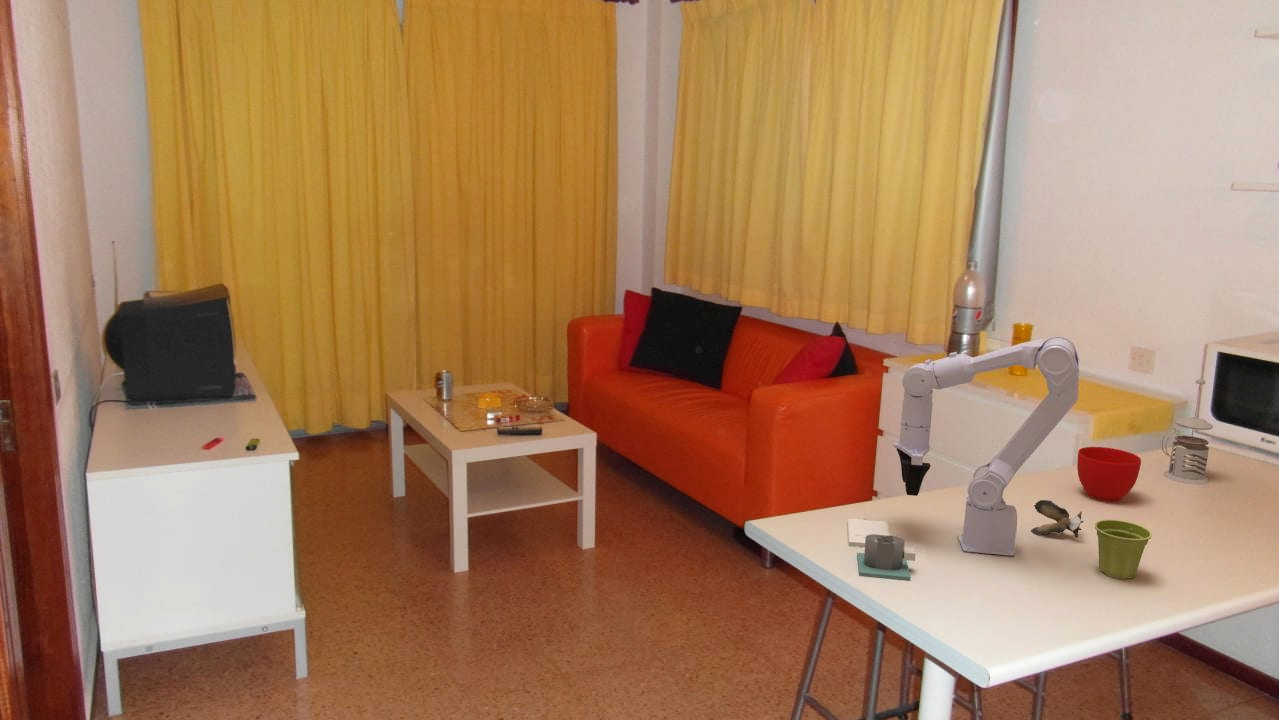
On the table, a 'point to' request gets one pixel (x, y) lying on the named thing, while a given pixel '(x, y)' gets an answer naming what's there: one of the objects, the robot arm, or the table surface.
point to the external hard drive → (864, 530)
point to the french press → (1189, 451)
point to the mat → (882, 570)
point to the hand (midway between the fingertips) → (910, 488)
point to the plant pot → (1120, 547)
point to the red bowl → (1107, 472)
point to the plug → (886, 552)
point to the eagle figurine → (1056, 519)
